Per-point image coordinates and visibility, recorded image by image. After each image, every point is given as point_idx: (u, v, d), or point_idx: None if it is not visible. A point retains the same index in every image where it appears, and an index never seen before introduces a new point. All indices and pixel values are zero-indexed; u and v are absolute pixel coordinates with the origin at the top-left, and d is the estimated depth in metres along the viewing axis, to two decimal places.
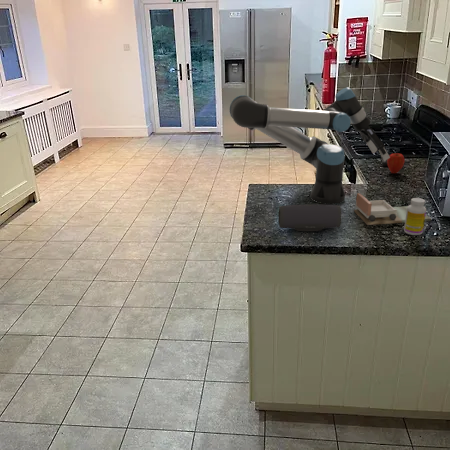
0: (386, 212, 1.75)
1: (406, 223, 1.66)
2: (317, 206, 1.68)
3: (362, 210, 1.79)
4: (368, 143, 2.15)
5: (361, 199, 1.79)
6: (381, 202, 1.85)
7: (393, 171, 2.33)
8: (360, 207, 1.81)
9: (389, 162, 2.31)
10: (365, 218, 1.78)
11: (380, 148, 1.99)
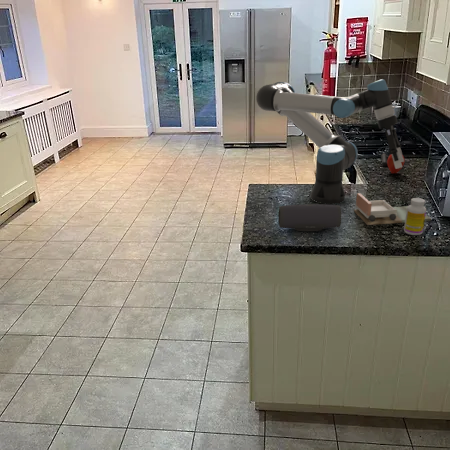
0: (386, 212, 1.75)
1: (406, 223, 1.66)
2: (317, 206, 1.68)
3: (362, 210, 1.79)
4: None
5: (361, 199, 1.79)
6: (381, 202, 1.85)
7: (393, 171, 2.33)
8: (360, 207, 1.81)
9: (389, 162, 2.31)
10: (365, 218, 1.78)
11: (390, 151, 1.82)
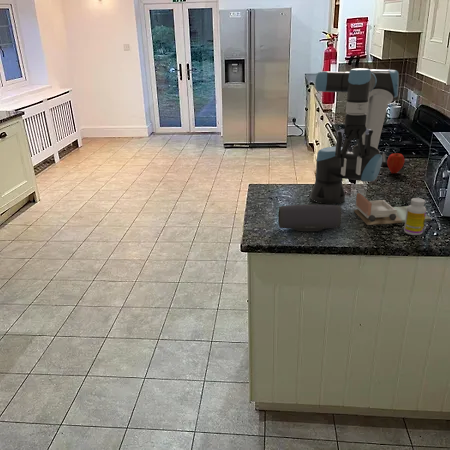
0: (386, 212, 1.75)
1: (406, 223, 1.66)
2: (317, 206, 1.68)
3: (362, 210, 1.79)
4: (357, 158, 1.72)
5: (361, 199, 1.79)
6: (381, 202, 1.85)
7: (393, 171, 2.33)
8: (360, 207, 1.81)
9: (389, 162, 2.31)
10: (365, 218, 1.78)
11: (335, 154, 1.70)
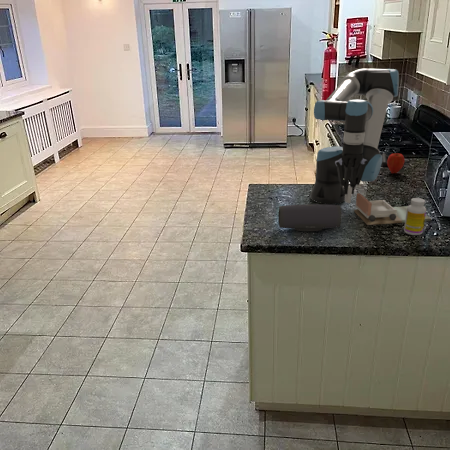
0: (386, 212, 1.75)
1: (406, 223, 1.66)
2: (317, 206, 1.68)
3: (362, 210, 1.79)
4: None
5: (361, 199, 1.79)
6: (381, 202, 1.85)
7: (393, 171, 2.33)
8: (360, 207, 1.81)
9: (389, 162, 2.31)
10: (365, 218, 1.78)
11: (339, 182, 1.75)
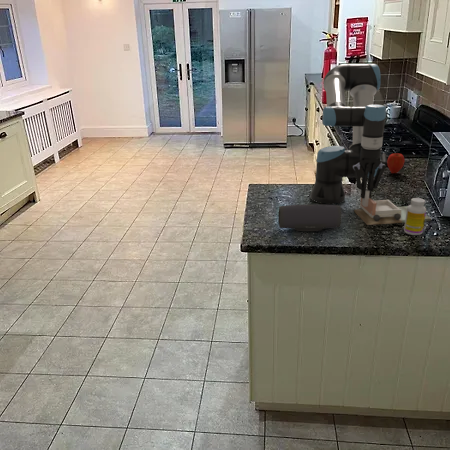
0: (391, 212, 1.75)
1: (406, 223, 1.66)
2: (317, 206, 1.68)
3: (367, 210, 1.79)
4: None
5: None
6: (385, 202, 1.85)
7: (393, 171, 2.33)
8: (365, 207, 1.81)
9: (389, 162, 2.31)
10: (365, 218, 1.78)
11: None
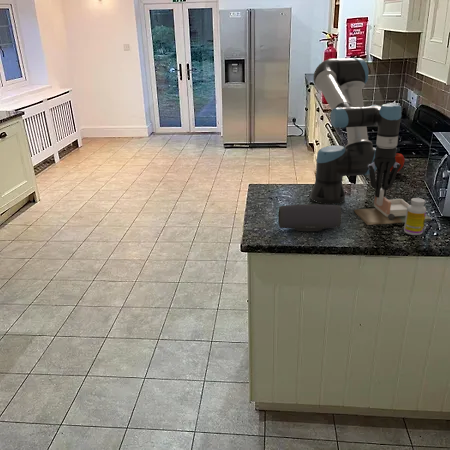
0: (405, 211, 1.76)
1: (406, 223, 1.66)
2: (317, 206, 1.68)
3: (381, 209, 1.80)
4: None
5: None
6: (399, 201, 1.86)
7: None
8: (379, 206, 1.81)
9: None
10: (365, 218, 1.78)
11: (371, 185, 1.77)
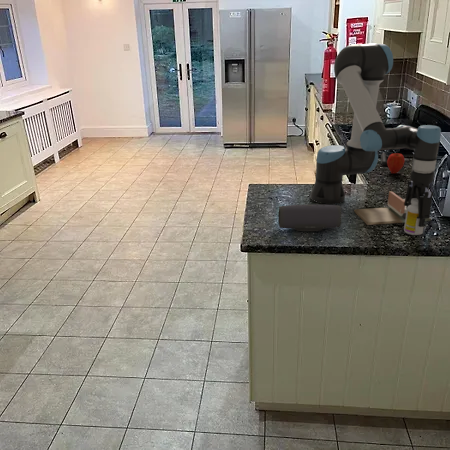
0: None
1: (406, 223, 1.66)
2: (317, 206, 1.68)
3: (395, 208, 1.80)
4: None
5: (394, 197, 1.80)
6: None
7: (393, 171, 2.33)
8: (393, 205, 1.82)
9: (389, 162, 2.31)
10: (365, 218, 1.78)
11: (424, 217, 1.58)
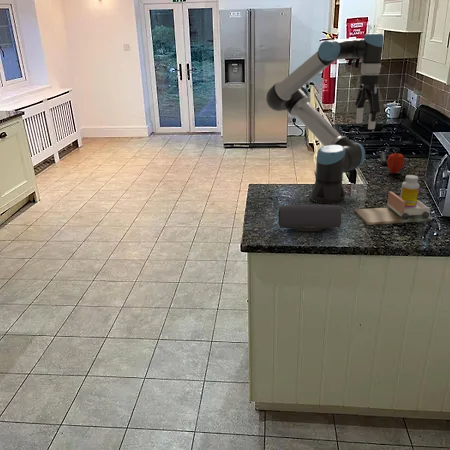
0: (419, 210, 1.76)
1: (401, 198, 1.80)
2: (317, 206, 1.68)
3: (395, 208, 1.80)
4: (358, 109, 1.97)
5: (394, 197, 1.80)
6: None
7: (393, 171, 2.33)
8: (392, 205, 1.82)
9: (389, 162, 2.31)
10: (365, 218, 1.78)
11: (374, 111, 1.81)
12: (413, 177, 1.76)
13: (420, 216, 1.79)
